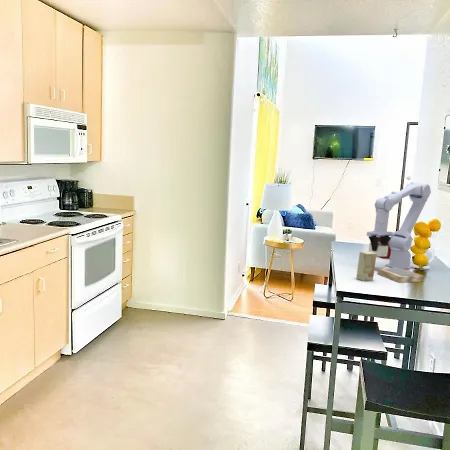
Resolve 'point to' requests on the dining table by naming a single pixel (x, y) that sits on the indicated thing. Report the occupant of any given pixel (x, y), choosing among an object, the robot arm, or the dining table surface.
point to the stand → (400, 275)
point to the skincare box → (366, 266)
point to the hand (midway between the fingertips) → (378, 250)
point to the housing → (379, 249)
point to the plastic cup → (388, 251)
